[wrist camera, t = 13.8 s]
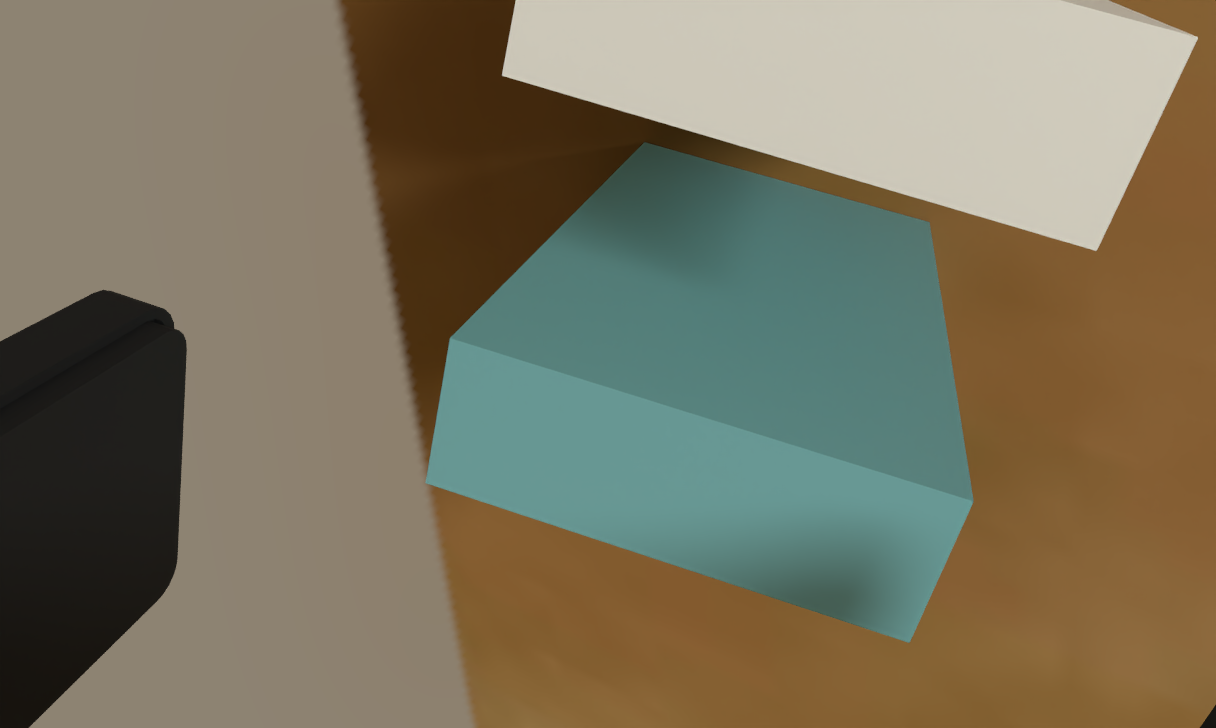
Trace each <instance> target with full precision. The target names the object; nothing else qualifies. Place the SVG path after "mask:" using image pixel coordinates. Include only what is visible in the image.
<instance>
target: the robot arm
mask: <svg viewBox="0 0 1216 728" xmlns="http://www.w3.org/2000/svg"><path fill="white" fill-rule="evenodd" d="M186 351H187V350H186V340H185V337H184V335H183V334H182V333H181V332H180V331H179V330H176V329H174V322H173V320H172V318H171V315H170V314H169V313H168V312H167V311H166V310H165V309H163V308H160V307H157V306H154V305H151V304H148V303H145V302H142V301H139V300H136V299H133V298H130V297H127V296H124V295H121V294H118V293H115V292H112V291H106V290H102V291H99V292H96V293H93V294H91V295H89V296H87V297H85V298H84V299H81V300H79V301H77V302H75V303H73V304H72V305H70V306H68V307H66V308H64V309H62V310H60V311H58V312H56V313H54V314H52V315H50V316H49V317H47V318H45V319H43V320H41V321H39V322H37V323H35V324H33V325H31V326H29V327H27V328H25V329H24V330H22V331H20V332H18V333H16V334H14V335H12V336H10V337H8V338H6V339H4V340H2V341H0V728H29V727H30V726H31V725H32V724H33V723H34V722H35V721H36V720H37V719H38V718H39V717H40V716H41V715H42V714H43V713H44V712H45V711H46V710H47V709H48V708H49V707H50V706H51V705H52V704H53V703H54V702H55V701H56V700H57V699H58V698H59V697H60V696H61V695H62V694H63V693H64V692H65V691H66V690H67V689H68V688H69V687H70V686H71V685H72V684H73V683H74V682H75V681H76V680H77V679H78V678H79V677H80V676H81V675H83V674H84V673H85V671H87V670H88V669H89V667H91V666H92V665H93V663H95V662H96V661H97V660H98V659H99V658H100V657H101V656H102V655H103V654H104V653H105V652H106V651H107V650H108V649H109V648H110V647H111V646H112V645H113V644H114V643H115V642H116V641H117V640H118V639H119V638H120V637H121V636H122V635H123V634H124V633H125V632H126V631H127V630H128V629H129V628H130V627H131V626H132V625H133V624H134V623H135V622H136V621H137V620H138V619H139V618H140V617H141V616H142V615H143V614H144V613H145V612H146V611H147V610H148V609H149V608H150V607H151V606H152V605H153V604H155V603H156V602H157V600H158V599H159V598H160V597H161V596H162V595H163V593H164V592H165V590H166V589H167V587H168V586H169V584H170V581H171V579H172V577H173V575H174V572H175V568H176V564H177V555H178V553H177V552H178V532H179V509H180V487H181V486H180V485H181V464H182V441H183V419H184V397H185V372H186ZM1200 728H1216V705H1215V707H1214V708H1213V710H1212V711H1211V712H1210V714H1209V715H1208V717H1207V718H1206V720H1205V721H1204V723H1203V724H1202V725H1201V727H1200Z"/></svg>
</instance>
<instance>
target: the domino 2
mask: <svg viewBox="0 0 1216 728" xmlns="http://www.w3.org/2000/svg"><path fill="white" fill-rule="evenodd" d="M426 483H427V484H430V485H433V486H436V487H439V488H442V489H445V490H448V491H451V492H454V493H458V494H461V495H464V496H467V497H470V498H473V499H476V500H479V501H482V502H485V503H488V504H491V505H494V506H497V507H500V508H503V509H506V510H509V511H512V512H515V513H518V514H521V515H524V516H527V517H530V518H533V519H536V520H539V521H542V522H545V523H548V524H551V525H554V526H557V527H560V528H563V529H566V530H569V531H573V532H576V533H579V534H582V535H585V536H588V537H591V538H594V539H597V540H600V541H603V542H606V543H609V544H612V545H615V546H618V547H621V548H624V549H627V550H630V551H633V552H636V553H639V554H642V555H645V556H648V557H651V558H654V559H657V560H660V561H663V562H666V563H669V564H672V565H675V566H678V567H681V568H684V569H688V570H691V571H694V572H697V573H700V574H703V575H706V576H709V577H712V578H715V579H718V580H721V581H724V582H727V583H730V584H733V585H736V586H739V587H742V588H745V589H748V590H751V591H754V592H757V593H760V594H763V595H766V596H769V597H772V598H775V599H778V600H781V601H784V602H787V603H790V604H793V605H796V606H799V607H802V608H806V609H809V610H812V611H815V612H818V613H821V614H824V615H827V616H830V617H833V618H836V619H839V620H842V621H845V622H848V623H851V624H854V625H857V626H860V627H863V628H866V629H869V630H872V631H875V632H878V633H881V634H884V635H887V636H890V637H893V638H896V639H899V640H902V641H905V642H908V643H910V640H911V638H912V636H913V634H914V632H915V629H916V627H917V625H918V623H919V621H920V618H921V616H922V614H923V612H924V610H925V607H926V605H927V603H928V601H929V598H930V596H931V594H932V592H933V590H934V587H935V585H936V583H937V581H938V579H939V576H940V574H941V572H942V570H943V568H944V565H945V563H946V561H947V559H948V557H949V554H950V552H951V550H952V548H953V546H954V543H955V541H956V539H957V537H958V535H959V532H960V530H961V528H962V526H963V524H964V521H965V519H966V517H967V515H968V512H969V510H970V508H971V506H972V504H973V495H972V489H971V482H970V476H969V470H968V463H967V457H966V451H965V444H964V438H963V432H962V425H961V419H960V413H959V406H958V400H957V394H956V387H955V381H954V375H953V368H952V362H951V356H950V349H949V343H948V337H947V331H946V324H945V318H944V312H943V305H942V299H941V293H940V286H939V280H938V274H937V267H936V261H935V255H934V248H933V242H932V236H931V229H930V223H929V222H927V221H923V220H919V219H916V218H912V217H909V216H905V215H902V214H898V213H895V212H891V211H887V210H884V209H880V208H877V207H873V206H870V205H866V204H863V203H859V202H855V201H852V200H848V199H845V198H841V197H838V196H834V195H831V194H827V193H823V192H820V191H816V190H813V189H809V188H806V187H802V186H799V185H795V184H791V183H788V182H784V181H781V180H777V179H774V178H770V177H767V176H763V175H759V174H756V173H752V172H749V171H745V170H742V169H738V168H735V167H731V166H727V165H724V164H720V163H717V162H713V161H710V160H706V159H703V158H699V157H695V156H692V155H688V154H685V153H681V152H678V151H674V150H671V149H667V148H663V147H660V146H656V145H653V144H649V143H646V142H644V143H643V144H642V145H641V146H640V147H639V148H638V149H637V150H636V151H635V152H634V153H633V154H632V155H631V156H630V157H629V158H628V159H627V160H626V161H625V162H624V163H623V164H622V165H621V166H620V167H619V168H618V169H617V170H616V171H615V172H614V173H613V174H612V175H611V176H610V177H609V178H608V179H607V180H606V181H605V183H604V184H603V185H602V186H601V187H600V188H599V189H598V190H597V191H596V192H595V193H594V194H593V195H592V196H591V197H590V198H589V199H588V200H587V201H586V202H585V203H584V204H583V205H582V206H581V207H580V208H579V209H578V210H577V211H576V212H575V213H574V214H573V215H572V216H571V217H570V218H569V219H568V220H567V221H566V222H565V223H564V224H563V225H562V226H561V227H560V228H559V229H558V230H557V231H556V232H555V233H554V234H553V235H552V236H551V237H550V238H549V239H548V240H547V241H546V242H545V243H544V244H543V245H542V246H541V247H540V248H539V249H538V250H537V251H536V252H535V253H534V254H533V255H532V256H531V257H530V258H529V259H528V260H527V261H526V262H525V263H524V264H523V265H522V266H521V267H520V268H519V269H518V270H517V271H516V272H515V273H514V274H513V275H512V276H511V277H510V278H509V279H508V280H507V281H506V282H505V283H504V284H503V285H502V286H501V287H500V288H499V289H498V290H497V291H496V292H495V293H494V294H493V295H492V296H491V297H490V298H489V299H488V300H487V301H486V302H485V303H484V304H483V305H482V306H481V307H480V308H479V309H478V310H477V311H476V312H475V313H474V314H473V315H472V316H471V317H470V318H469V319H468V320H467V321H466V322H465V323H464V324H463V325H462V326H461V328H460V329H459V330H458V331H457V332H456V333H455V334H454V335H453V336H452V337H451V338H450V341H449V347H448V353H447V359H446V365H445V371H444V377H443V383H442V389H441V395H440V400H439V406H438V412H437V418H436V424H435V430H434V436H433V442H432V448H431V454H430V460H429V466H428V472H427V478H426Z"/></svg>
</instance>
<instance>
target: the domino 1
mask: <svg viewBox="0 0 1216 728" xmlns="http://www.w3.org/2000/svg"><path fill="white" fill-rule="evenodd" d="M1197 39H1198V37H1196V36H1194V35H1191V34H1189V33H1186V32H1184V31H1181V30H1179V29H1177V28H1174V27H1172V26H1169V25H1167V24H1164V23H1162V22H1160V21H1157V20H1155V19H1152V18H1150V17H1147V16H1145V15H1143V14H1140V13H1138V12H1135V11H1133V10H1130V9H1128V8H1126V7H1123V6H1121V5H1118V4H1116V3H1113V2H1111V1H1109V0H516V2H515V7H514V13H513V18H512V23H511V29H510V34H509V40H508V45H507V50H506V56H505V61H504V66H503V72H502V76H505V77H508V78H511V79H515V80H518V81H522V82H525V83H528V84H532V85H535V86H539V87H542V88H545V89H549V90H552V91H556V92H559V93H562V94H566V95H569V96H573V97H576V98H579V99H583V100H586V101H589V102H593V103H596V104H600V105H603V106H606V107H610V108H613V109H617V110H620V111H623V112H627V113H630V114H634V115H637V116H640V117H644V118H647V119H651V120H654V121H657V122H661V123H664V124H668V125H671V126H674V127H678V128H681V129H684V130H688V131H691V132H695V133H698V134H701V135H705V136H708V137H712V138H715V139H718V140H722V141H725V142H729V143H732V144H735V145H739V146H742V147H746V148H749V149H752V150H756V151H759V152H763V153H766V154H769V155H773V156H776V157H779V158H783V159H786V160H790V161H793V162H796V163H800V164H803V165H807V166H810V167H813V168H817V169H820V170H824V171H827V172H830V173H834V174H837V175H841V176H844V177H847V178H851V179H854V180H858V181H861V182H864V183H868V184H871V185H874V186H878V187H881V188H885V189H888V190H891V191H895V192H898V193H902V194H905V195H908V196H912V197H915V198H919V199H922V200H925V201H929V202H932V203H936V204H939V205H942V206H946V207H949V208H953V209H956V210H959V211H963V212H966V213H969V214H973V215H976V216H980V217H983V218H986V219H990V220H993V221H997V222H1000V223H1003V224H1007V225H1010V226H1014V227H1017V228H1020V229H1024V230H1027V231H1031V232H1034V233H1037V234H1041V235H1044V236H1048V237H1051V238H1054V239H1058V240H1061V241H1064V242H1068V243H1071V244H1075V245H1078V246H1081V247H1085V248H1088V249H1092V250H1095V251H1097V249H1098V247H1099V245H1100V243H1101V241H1102V238H1103V236H1104V234H1105V232H1106V230H1107V228H1108V226H1109V224H1110V222H1111V220H1112V217H1113V215H1114V213H1115V211H1116V209H1117V207H1118V205H1119V203H1120V201H1121V199H1122V196H1123V194H1124V192H1125V190H1126V188H1127V186H1128V184H1129V182H1130V180H1131V178H1132V175H1133V173H1134V171H1135V169H1136V167H1137V165H1138V163H1139V161H1140V159H1141V157H1142V154H1143V152H1144V150H1145V148H1146V146H1147V144H1148V142H1149V140H1150V138H1151V136H1152V133H1153V131H1154V129H1155V127H1156V125H1157V123H1158V121H1159V119H1160V117H1161V115H1162V112H1163V110H1164V108H1165V106H1166V104H1167V102H1168V100H1169V98H1170V96H1171V94H1172V91H1173V89H1174V87H1175V85H1176V83H1177V81H1178V79H1179V77H1180V75H1181V73H1182V70H1183V68H1184V66H1185V64H1186V62H1187V60H1188V58H1189V56H1190V54H1191V52H1192V49H1193V47H1194V45H1195V43H1196V41H1197Z"/></svg>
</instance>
